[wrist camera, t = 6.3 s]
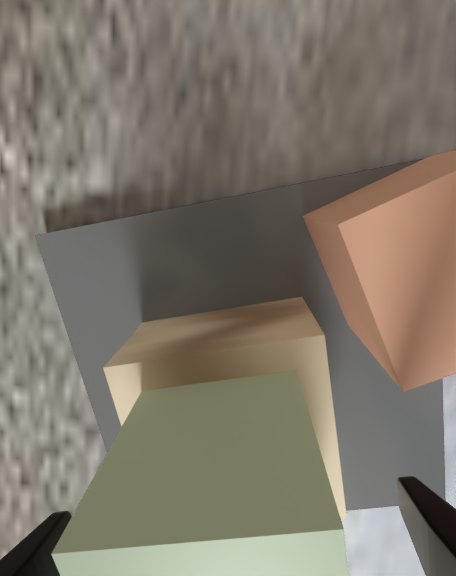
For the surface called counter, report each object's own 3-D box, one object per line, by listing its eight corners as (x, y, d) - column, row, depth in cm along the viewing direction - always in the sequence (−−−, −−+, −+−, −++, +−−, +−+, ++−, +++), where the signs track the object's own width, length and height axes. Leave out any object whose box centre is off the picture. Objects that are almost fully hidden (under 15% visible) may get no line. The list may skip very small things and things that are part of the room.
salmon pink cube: (430, 156, 12) (557, 123, 7) (467, 276, 13) (600, 321, 8) (302, 215, 13) (337, 224, 8) (347, 325, 14) (403, 391, 9)
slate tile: (425, 159, 13) (436, 156, 12) (435, 487, 16) (445, 501, 16) (46, 233, 14) (34, 235, 13) (138, 516, 18) (133, 530, 17)
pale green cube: (296, 370, 10) (344, 529, 5) (314, 498, 11) (366, 724, 6) (141, 391, 10) (50, 554, 6) (175, 512, 12) (125, 731, 7)
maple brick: (301, 296, 13) (324, 334, 10) (321, 437, 15) (346, 517, 11) (141, 322, 14) (103, 367, 10) (177, 454, 16) (155, 535, 12)
